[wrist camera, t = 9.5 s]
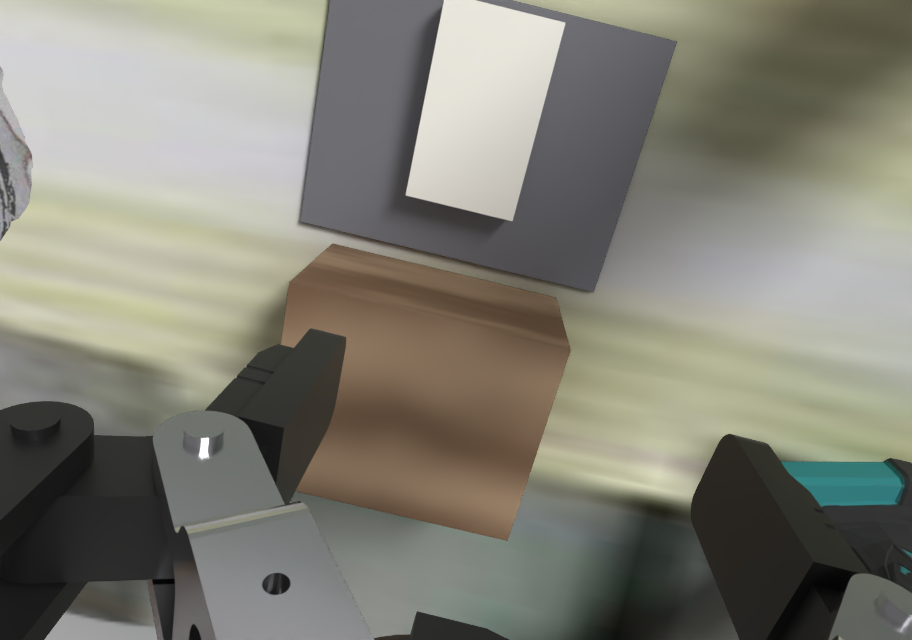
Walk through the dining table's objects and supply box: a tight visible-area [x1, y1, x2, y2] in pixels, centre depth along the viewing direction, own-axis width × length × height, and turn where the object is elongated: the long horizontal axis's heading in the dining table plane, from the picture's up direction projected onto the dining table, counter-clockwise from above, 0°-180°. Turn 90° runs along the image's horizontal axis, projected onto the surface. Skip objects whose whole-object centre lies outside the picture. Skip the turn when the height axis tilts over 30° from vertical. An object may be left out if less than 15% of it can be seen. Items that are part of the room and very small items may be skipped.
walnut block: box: [281, 244, 570, 541], centre depth 35 cm, size 12×14×8 cm
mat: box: [300, 0, 677, 292], centre depth 33 cm, size 14×18×1 cm
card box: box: [406, 0, 565, 221], centre depth 32 cm, size 10×6×2 cm, turn 167°
